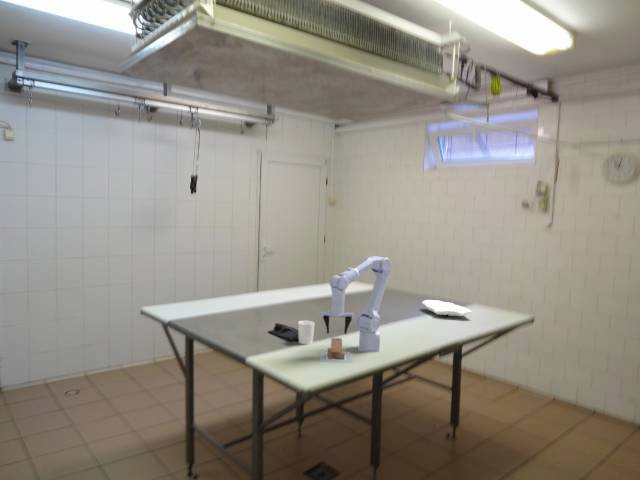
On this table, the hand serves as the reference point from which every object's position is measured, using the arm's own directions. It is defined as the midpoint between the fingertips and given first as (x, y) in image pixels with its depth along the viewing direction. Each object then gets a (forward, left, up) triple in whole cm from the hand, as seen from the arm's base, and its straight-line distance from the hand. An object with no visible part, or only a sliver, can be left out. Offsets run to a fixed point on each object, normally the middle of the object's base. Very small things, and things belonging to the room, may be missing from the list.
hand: (336, 333), depth 206 cm
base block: (0, +2, -10) cm, 10 cm away
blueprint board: (0, +2, -10) cm, 10 cm away
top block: (0, +2, -7) cm, 8 cm away
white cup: (+14, -17, -11) cm, 25 cm away
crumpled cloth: (-73, -87, -11) cm, 114 cm away
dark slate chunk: (+22, -29, -11) cm, 38 cm away
